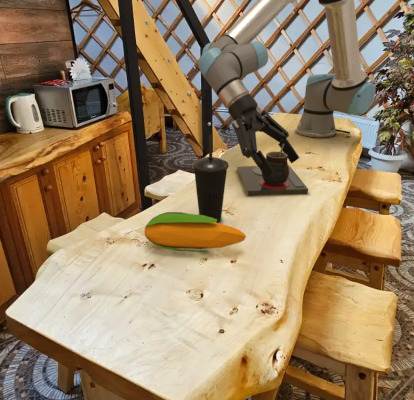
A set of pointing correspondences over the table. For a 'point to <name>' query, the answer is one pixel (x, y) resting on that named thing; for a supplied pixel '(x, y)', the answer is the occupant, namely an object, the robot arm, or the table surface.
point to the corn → (190, 232)
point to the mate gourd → (277, 167)
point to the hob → (259, 187)
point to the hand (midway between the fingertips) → (283, 167)
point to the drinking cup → (210, 184)
